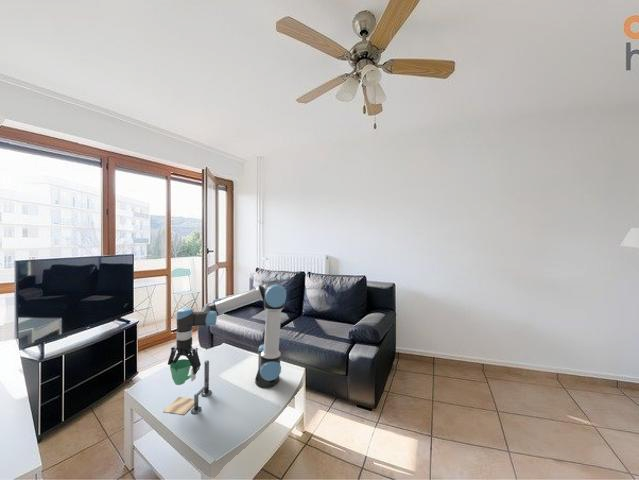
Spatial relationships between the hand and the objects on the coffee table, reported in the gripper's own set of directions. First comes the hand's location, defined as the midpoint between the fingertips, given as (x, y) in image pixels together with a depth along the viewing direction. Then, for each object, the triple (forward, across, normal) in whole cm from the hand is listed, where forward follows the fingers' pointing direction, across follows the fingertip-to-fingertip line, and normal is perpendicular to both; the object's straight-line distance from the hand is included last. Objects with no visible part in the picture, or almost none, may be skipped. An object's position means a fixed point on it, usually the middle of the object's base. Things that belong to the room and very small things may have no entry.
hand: (183, 378), depth 139 cm
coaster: (+15, +1, 0) cm, 15 cm away
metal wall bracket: (+15, -8, -5) cm, 18 cm away
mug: (+1, -1, 0) cm, 1 cm away
